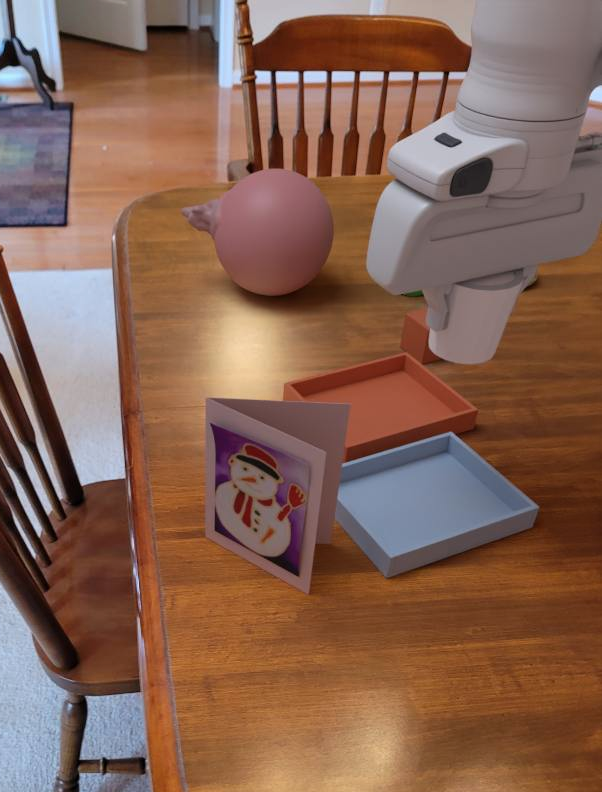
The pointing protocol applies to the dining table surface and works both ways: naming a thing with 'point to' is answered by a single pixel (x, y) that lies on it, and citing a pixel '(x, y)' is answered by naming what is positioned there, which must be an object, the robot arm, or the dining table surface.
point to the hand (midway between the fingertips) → (468, 320)
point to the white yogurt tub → (476, 317)
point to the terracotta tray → (387, 403)
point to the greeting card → (273, 480)
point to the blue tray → (427, 503)
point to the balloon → (269, 231)
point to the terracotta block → (417, 337)
